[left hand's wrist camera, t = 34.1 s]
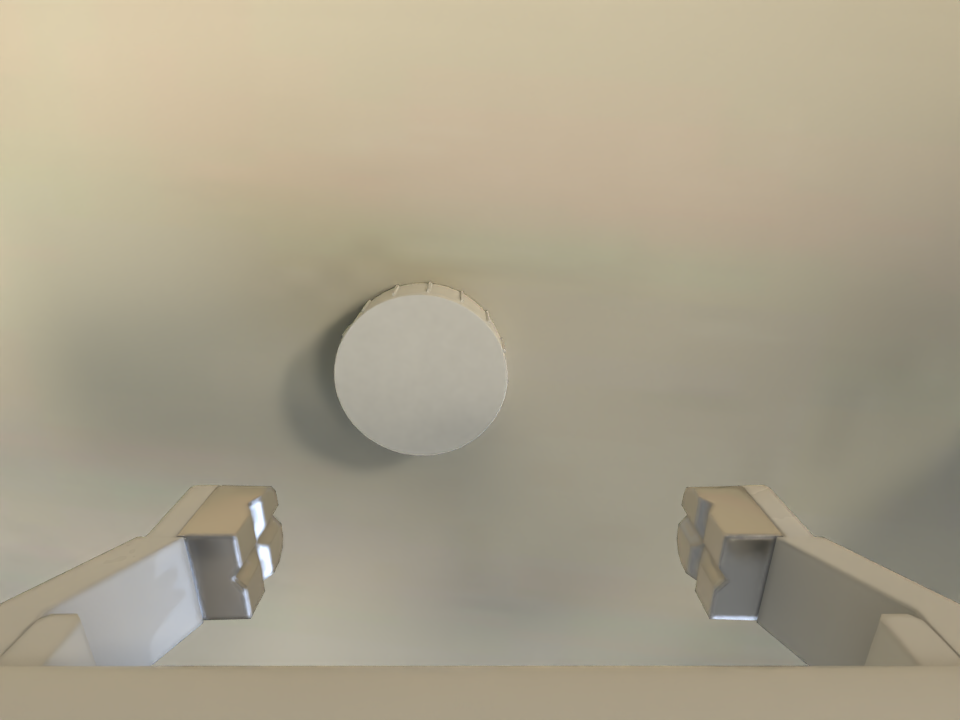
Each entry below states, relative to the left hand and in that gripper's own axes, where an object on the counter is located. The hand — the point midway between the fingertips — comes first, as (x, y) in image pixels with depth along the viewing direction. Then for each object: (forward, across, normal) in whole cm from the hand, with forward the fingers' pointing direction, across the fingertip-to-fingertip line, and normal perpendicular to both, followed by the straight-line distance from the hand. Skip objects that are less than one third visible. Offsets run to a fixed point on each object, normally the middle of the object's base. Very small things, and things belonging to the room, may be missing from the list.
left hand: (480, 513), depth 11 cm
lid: (+8, +2, 0) cm, 9 cm away
